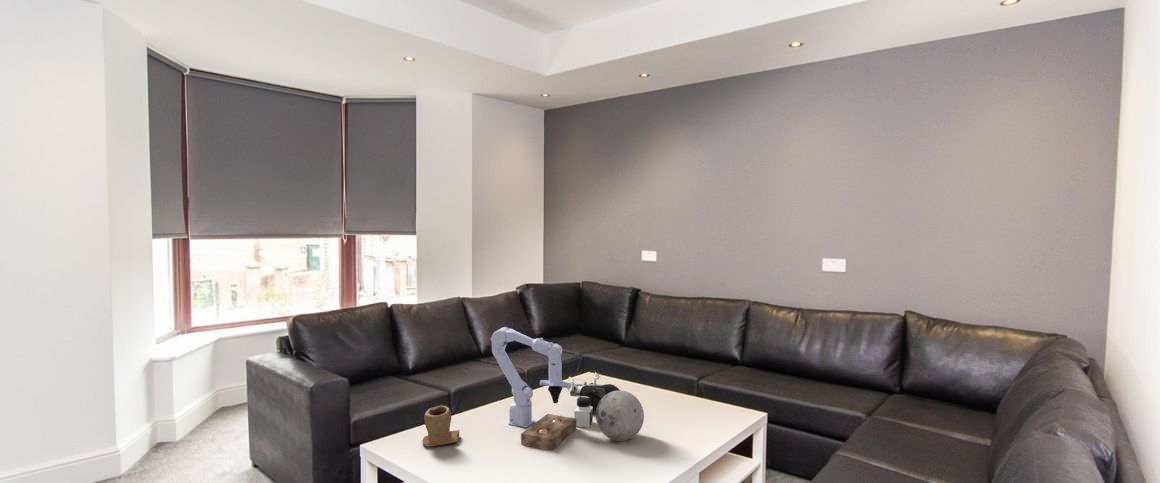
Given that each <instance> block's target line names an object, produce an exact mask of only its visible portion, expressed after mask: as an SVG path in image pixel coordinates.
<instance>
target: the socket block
mask: <svg viewBox="0 0 1160 483" xmlns="http://www.w3.org/2000/svg"><path fill="white" fill-rule="evenodd" d="M553 419H559V420H560V423H553V422H552V420H553ZM540 429H547V430H548V432H547V433H546V434H544V433H539V430H540ZM576 429H577V427H576V418H574V417H570V416H563V415H558V414H557V415H556V414H552V413H551V414H550V413H546V414H545V415H544V416H542V417H541V418H539V420H537V421H535V422H534V423H532V424H531V425H530V426H528V427H527V428H526V429H525V430H524V431H522V432H521V433H520V442H521V443H520V445H523V446H529V447H533V448H537V449H538V448H539V449H543V450H548V451H553V450H555V448H557V447H558V445H560V444H561V443H562V442H563V441H564V440H565V439H567V437H568V436H570V435H571V434H572V433H573V432H574V431H575V430H576Z"/></svg>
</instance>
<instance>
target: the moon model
mask: <svg viewBox="0 0 1160 483" xmlns="http://www.w3.org/2000/svg"><path fill="white" fill-rule="evenodd" d="M644 420H645V412H644V408H643V406H642V403H641V402H640V400H639V399H638V398H637V396H635V395H634V394H633V393H631V392H628V391H626V390H621V389H619V390H618V391H612V392H610V393H608V394H606V395H605V396H604V397H603V398H602V399H601V400H600V402H599V404H598V406H597V409H596V412H595V421H596V424H597V426H598V429H599V430H600V432H601V433H602V434H603V435H604V436H605V437H607V438H608V439H610V440H611V441H612V440H613V441H617V442H624V441H627V440H628V441H629V440H631V439H633V438H634V437H636V436H637V434H639V432H640V431H641V429H642V427H643V424H644Z"/></svg>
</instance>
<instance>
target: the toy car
mask: <svg viewBox="0 0 1160 483" xmlns="http://www.w3.org/2000/svg"><path fill="white" fill-rule="evenodd" d="M600 374H601V372H599V373H597V372H596V371H595V372H594V375H593V380H594V382H589V384H587V381H584V382H583V383H576V382H575V380H574V378H572V377H571V376H569V377H568V383H571V388H570V389H568V388H566V389H567V390H569V391H570V392H569V394H570V396H576V394H580V391H581V388H582V387H583V386H585V385H599V384H598V383H597V380H599V379H600V378H601V375H600Z"/></svg>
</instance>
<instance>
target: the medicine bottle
mask: <svg viewBox="0 0 1160 483" xmlns="http://www.w3.org/2000/svg"><path fill="white" fill-rule="evenodd" d="M573 412H574V413H573V415H574V417H573V418H576V428H577V427H578V428H591V426H592V424H593V421H594V418H593V415H594V413H593V407H591V406H590V398H589V397H585V396H582V397H580V396H578V397H577V399H576V408H575V409H574V411H573Z"/></svg>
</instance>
